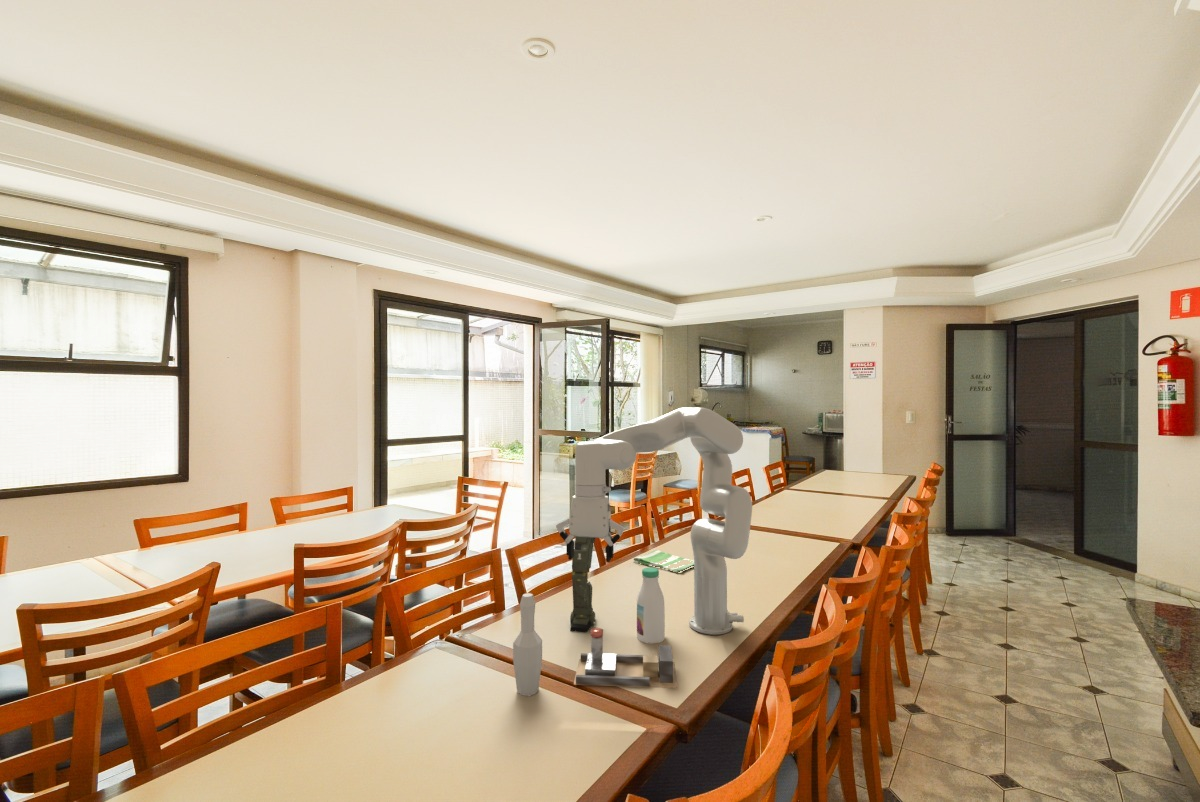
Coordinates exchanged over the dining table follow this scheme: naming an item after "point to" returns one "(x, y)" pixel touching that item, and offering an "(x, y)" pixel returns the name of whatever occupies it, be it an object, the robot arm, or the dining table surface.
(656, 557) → the dish towel
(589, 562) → the mechanical leg
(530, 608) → the faceted bottle
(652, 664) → the nut block
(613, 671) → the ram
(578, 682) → the press board
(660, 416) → the robot arm
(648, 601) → the milk bottle
